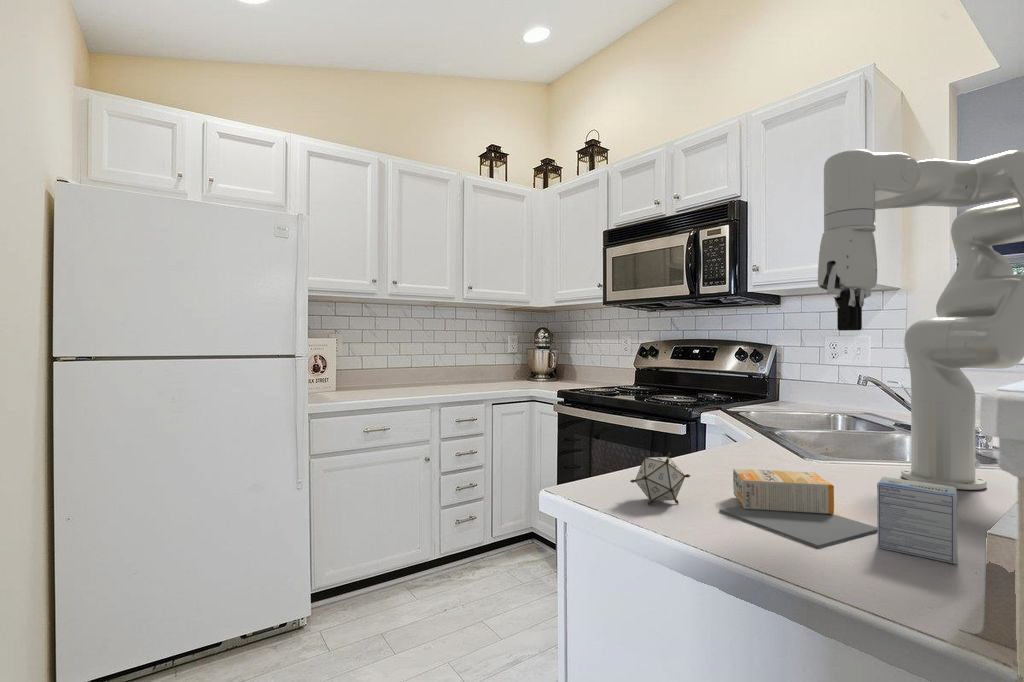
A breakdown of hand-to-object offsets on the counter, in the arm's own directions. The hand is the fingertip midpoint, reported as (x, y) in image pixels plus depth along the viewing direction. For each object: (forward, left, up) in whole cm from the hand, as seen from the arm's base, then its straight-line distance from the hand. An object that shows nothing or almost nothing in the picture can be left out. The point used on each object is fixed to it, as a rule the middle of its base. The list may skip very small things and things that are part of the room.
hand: (849, 330), depth 90 cm
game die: (+32, -12, -29) cm, 45 cm away
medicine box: (+16, +18, -29) cm, 38 cm away
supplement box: (+11, +3, -26) cm, 28 cm away
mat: (+20, +4, -29) cm, 35 cm away
